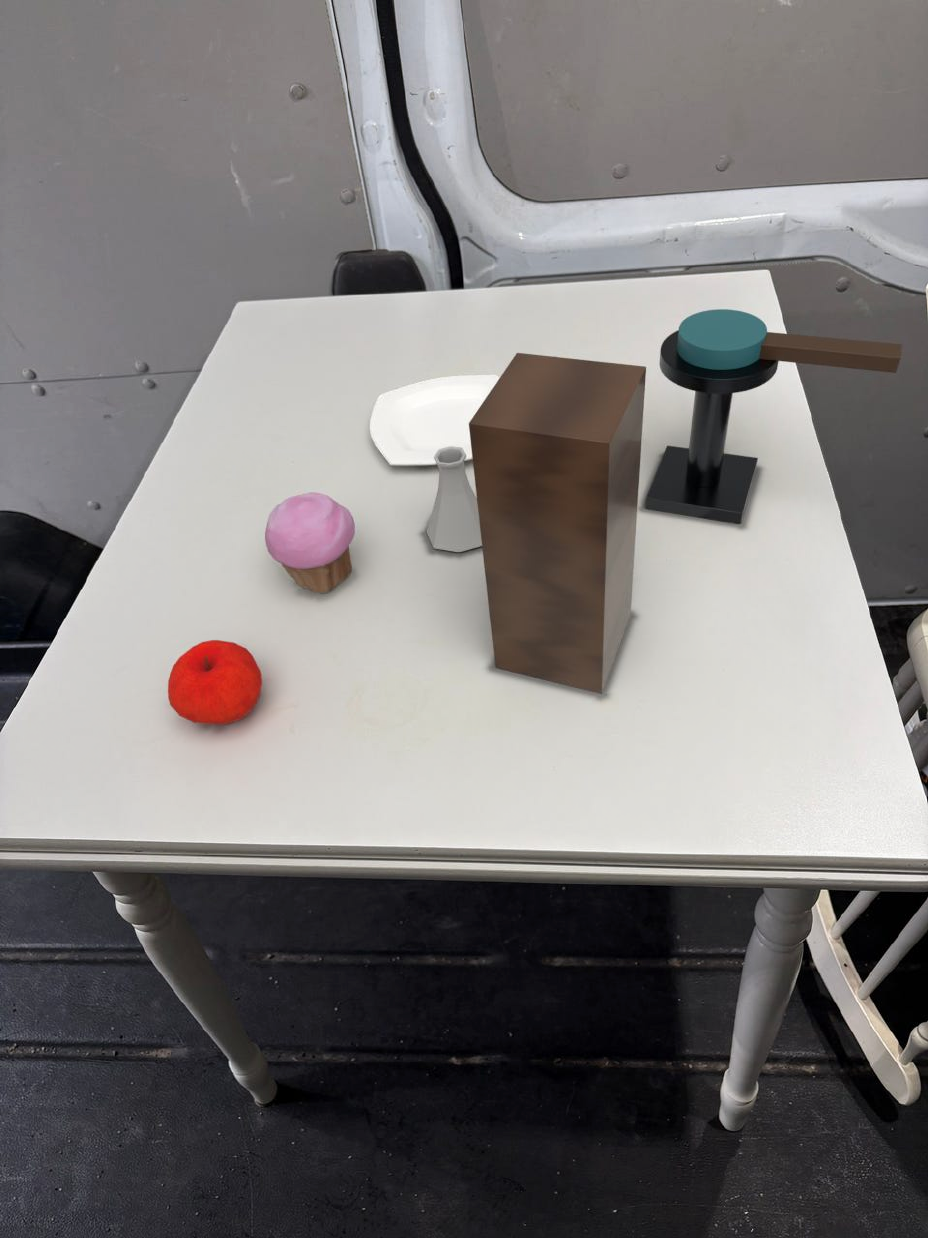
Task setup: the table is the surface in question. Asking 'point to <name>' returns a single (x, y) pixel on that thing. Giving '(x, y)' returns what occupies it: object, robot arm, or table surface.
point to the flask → (454, 505)
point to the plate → (428, 417)
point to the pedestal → (559, 513)
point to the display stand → (706, 442)
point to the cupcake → (311, 540)
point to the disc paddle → (772, 345)
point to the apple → (214, 683)
